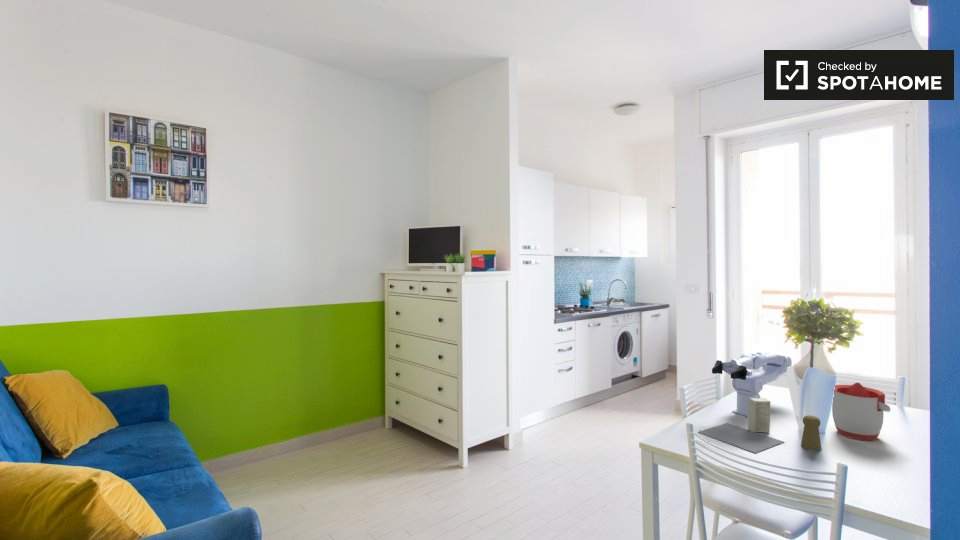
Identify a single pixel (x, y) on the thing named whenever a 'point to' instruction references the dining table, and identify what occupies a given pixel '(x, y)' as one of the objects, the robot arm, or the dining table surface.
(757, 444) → the mat
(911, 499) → the dining table surface
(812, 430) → the cork
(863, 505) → the dining table surface
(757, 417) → the skincare box
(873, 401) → the citrus juicer
